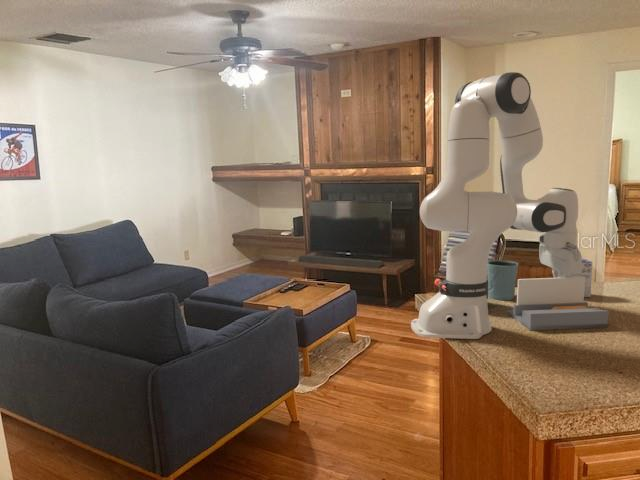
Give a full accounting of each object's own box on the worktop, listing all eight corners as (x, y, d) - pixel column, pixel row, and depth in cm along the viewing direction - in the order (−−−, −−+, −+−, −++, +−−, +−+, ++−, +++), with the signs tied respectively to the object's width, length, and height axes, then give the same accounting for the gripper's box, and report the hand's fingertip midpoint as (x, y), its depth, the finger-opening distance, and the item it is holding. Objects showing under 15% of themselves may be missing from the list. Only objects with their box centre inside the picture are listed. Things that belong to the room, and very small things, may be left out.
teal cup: (480, 294, 179) (481, 261, 177) (504, 291, 182) (505, 258, 180) (498, 302, 169) (499, 267, 167) (523, 298, 172) (525, 264, 170)
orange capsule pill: (547, 309, 151) (550, 318, 150) (551, 305, 149) (554, 314, 147) (584, 308, 152) (587, 317, 150) (588, 303, 149) (591, 312, 147)
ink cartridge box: (583, 293, 177) (585, 252, 174) (591, 297, 171) (594, 255, 169) (555, 293, 177) (556, 253, 175) (562, 298, 171) (564, 256, 169)
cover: (518, 279, 151) (517, 279, 152) (517, 304, 152) (516, 304, 153) (585, 277, 151) (583, 276, 152) (583, 302, 153) (582, 301, 154)
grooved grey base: (530, 330, 142) (530, 313, 141) (507, 312, 158) (508, 298, 157) (607, 327, 142) (609, 310, 141) (577, 310, 158) (578, 295, 157)
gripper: (589, 245, 147) (586, 292, 149) (555, 235, 167) (553, 275, 169) (567, 246, 147) (565, 292, 149) (536, 235, 167) (534, 276, 169)
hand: (558, 283), depth 159 cm, fingers closed
